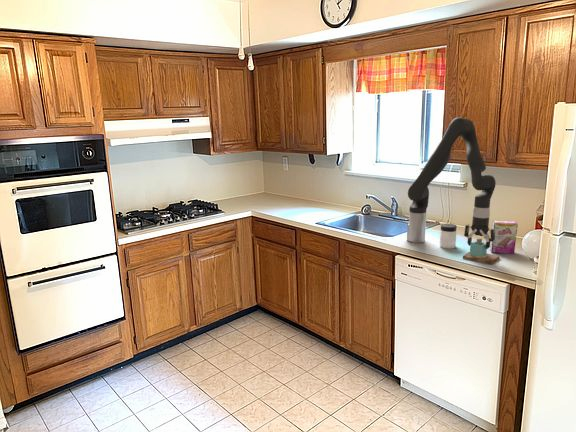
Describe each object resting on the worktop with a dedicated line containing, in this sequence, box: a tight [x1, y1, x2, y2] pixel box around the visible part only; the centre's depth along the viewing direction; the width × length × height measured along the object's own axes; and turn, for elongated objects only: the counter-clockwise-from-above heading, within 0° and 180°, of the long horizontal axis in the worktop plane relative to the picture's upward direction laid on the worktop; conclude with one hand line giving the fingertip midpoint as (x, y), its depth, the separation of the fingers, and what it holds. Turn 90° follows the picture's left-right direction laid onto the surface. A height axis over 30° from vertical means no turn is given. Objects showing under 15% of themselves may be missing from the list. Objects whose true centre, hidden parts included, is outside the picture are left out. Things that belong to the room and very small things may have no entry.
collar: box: [469, 240, 488, 257], centre depth 220 cm, size 6×6×6 cm
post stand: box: [462, 238, 501, 265], centre depth 219 cm, size 14×11×10 cm
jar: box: [439, 223, 458, 250], centre depth 240 cm, size 9×8×12 cm
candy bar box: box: [489, 220, 519, 255], centre depth 227 cm, size 11×5×16 cm, turn 75°
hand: (478, 246), depth 220 cm, fingers open, 8 cm apart
